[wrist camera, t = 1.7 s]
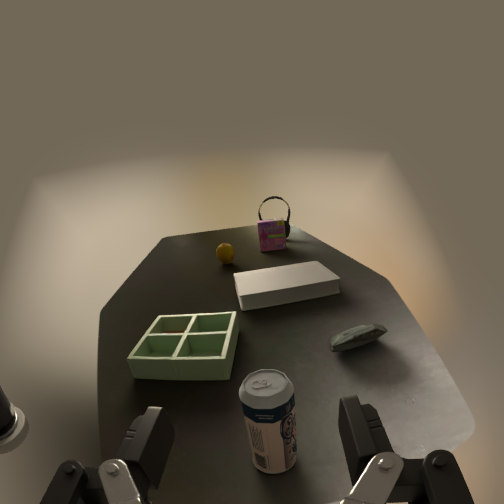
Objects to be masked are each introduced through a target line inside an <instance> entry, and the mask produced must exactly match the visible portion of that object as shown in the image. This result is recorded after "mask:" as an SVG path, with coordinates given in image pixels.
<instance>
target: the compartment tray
mask: <svg viewBox="0 0 504 504" xmlns="http://www.w3.org/2000/svg"><path fill="white" fill-rule="evenodd" d="M238 333H239V325H238V318H237V312H236V311H235V312H221V313H206V314H186V315H163V316H158V317H157V318H156V320H155V321H154V322H153V324H152V325H151V326H150V328H149V329H148V330H147V332H146V333H145V334H144V336H143V337H142V338H141V340H140V341H139V342H138V344H137V345H136V346H135V348H134V349H133V351H132V352H131V353H130V355H129V356H128V357H127V361H128V364H129V366H130V369H131V372H132V374H133V377H134V378H139V379H157V380H230V375H231V369H232V364H233V359H234V354H235V349H236V344H237V338H238Z"/></svg>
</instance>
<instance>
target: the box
mask: <svg viewBox="0 0 504 504" xmlns="http://www.w3.org/2000/svg"><path fill="white" fill-rule="evenodd" d="M257 223H258V232H259V241H260V249H261V252H263V251H272V250H281V249H287V246H286V236H285V227H284V220H283V218H279V219H270V220H261V221H258V222H257Z"/></svg>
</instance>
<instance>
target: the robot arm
mask: <svg viewBox="0 0 504 504" xmlns="http://www.w3.org/2000/svg"><path fill="white" fill-rule="evenodd" d="M18 421H19V419H18V415H17V413H16V412H15V410H14V406H13V404H12V403H11V404H10V403H9V401H8V399H7V397H6V396H5V394H4V392H3V390H2V388H1V387H0V440H3V439H5V438H7V437H8V436H10V435H11V434H12V433H13V432H14V430H15V429H16V427H17V425H18ZM338 425H339V432H340V436H341V440H342V444H343V448H344V452H345V456H346V460H347V465H348V469H349V473H350V477H351V482H352V486H354V488H353V490H352V491H351V493H350V494H349V495H348V496H347V497H345V498H344V499H343V500H342V501H341V503H340V504H386V503H396V502H397V503H398V502H408V504H474V501H473V499H472V497H471V494H470V492H469V489H468V487H467V484H466V482H465V480H464V477H463V475H462V473H461V470H460V468H459V466H458V464H457V462H456V459H455V457H454V456H453V454H452V453H450V452H449V451H446V450H435V451H432V452H431V453H429V454H428V455H427V456H426V457H425V458H424V459H405V458H402V457H400V456H399V455H398V454H396V453H395V452H394V451H393V449H392V447H391V444H390V442H389V439H388V437H387V434H386V432H385V429H384V427H383V425H382V422H381V420H380V417H379V415H378V413H377V410H376V409H375V408H373V407H372V406H371V405H370V404H365V405H361V404H360V402H359V399H358V397H357V395H354V396H349V397H343V398H340V405H339V419H338ZM128 430H129V431H127V433H126V435H125V436H126V437H124V439H123V441H122V443H121V445H120V447H119V449H118V451H117V453H116V455H115V457H114V459H110V460H107V461H105V462H103V463H102V464H101V466H100V467H86V468H84V467H83V466H82V464H81V463H80V462H78V461H76V460H68V461H65V462H64V463H62V464H61V465H60V466H59V468H58V470H57V472H56V474H55V476H54V477H53V479H52V481H51V483H50V485H49V487H48V489H47V491H46V493H45V495H44V496H43V498H42V500H41V502H40V504H153V503H152V502H151V500H150V498H149V496H148V494H147V493H148V490H149V489H154V490H158V487H159V484H160V481H161V478H162V474H163V471H164V468H165V465H166V462H167V459H168V456H169V453H170V450H171V447H172V444H173V441H174V437H175V433H174V428H173V426H172V423H171V421H170V418H169V416H168V413H167V411H166V409H165V408H164V407H148V408H147V410H146V412H145V414H144V416H138V417H137V418H136V419H135V420H134V421H133V422H132V424H131V426H130V427H129V429H128Z"/></svg>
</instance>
